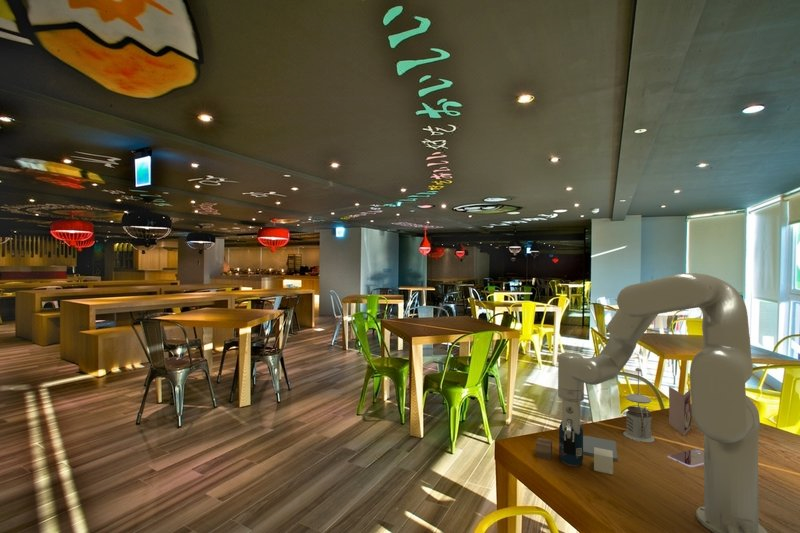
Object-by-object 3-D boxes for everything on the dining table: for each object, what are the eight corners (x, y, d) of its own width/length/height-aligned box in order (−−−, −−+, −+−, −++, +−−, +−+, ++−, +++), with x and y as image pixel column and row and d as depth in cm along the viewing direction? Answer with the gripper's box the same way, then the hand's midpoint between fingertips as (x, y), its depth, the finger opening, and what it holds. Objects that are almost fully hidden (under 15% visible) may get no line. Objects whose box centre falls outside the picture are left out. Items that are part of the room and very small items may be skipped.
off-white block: (613, 474, 110) (613, 457, 110) (594, 470, 113) (594, 453, 113) (612, 467, 115) (612, 450, 115) (594, 463, 117) (594, 447, 117)
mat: (617, 461, 118) (617, 458, 118) (569, 451, 125) (568, 448, 125) (615, 444, 130) (615, 441, 130) (571, 435, 137) (571, 433, 137)
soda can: (554, 457, 120) (554, 420, 121) (571, 454, 122) (571, 417, 123) (570, 468, 114) (570, 428, 114) (588, 465, 116) (588, 426, 116)
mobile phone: (665, 454, 122) (696, 447, 127) (665, 457, 122) (696, 450, 127) (690, 465, 115) (722, 458, 120) (690, 469, 115) (722, 461, 120)
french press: (648, 432, 141) (648, 365, 141) (661, 446, 130) (661, 373, 130) (619, 429, 143) (619, 363, 144) (629, 442, 132) (629, 371, 133)
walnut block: (550, 460, 119) (550, 446, 119) (535, 457, 121) (535, 443, 121) (552, 454, 123) (552, 440, 123) (537, 451, 125) (537, 437, 125)
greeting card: (686, 436, 137) (686, 395, 138) (662, 430, 143) (662, 390, 143) (693, 428, 145) (693, 389, 145) (670, 422, 151) (670, 385, 151)
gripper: (583, 403, 109) (582, 462, 109) (584, 387, 124) (584, 439, 124) (555, 398, 113) (554, 456, 112) (560, 384, 128) (559, 434, 128)
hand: (570, 447), depth 118 cm, fingers open, 9 cm apart
